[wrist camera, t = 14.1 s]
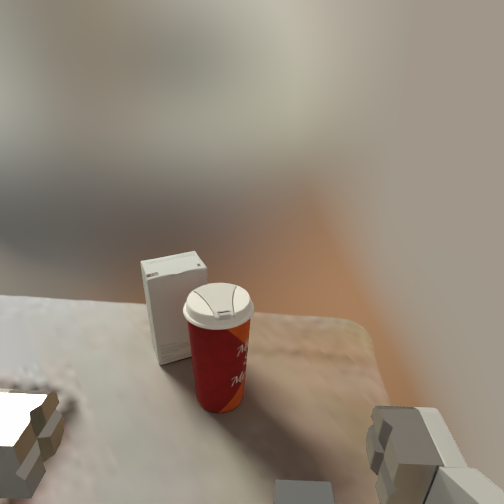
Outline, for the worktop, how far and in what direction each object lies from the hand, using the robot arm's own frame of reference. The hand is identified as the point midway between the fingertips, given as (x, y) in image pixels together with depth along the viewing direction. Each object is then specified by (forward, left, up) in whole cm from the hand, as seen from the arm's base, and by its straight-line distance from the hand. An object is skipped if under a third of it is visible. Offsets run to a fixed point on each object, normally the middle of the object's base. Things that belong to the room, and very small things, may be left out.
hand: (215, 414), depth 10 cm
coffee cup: (-3, +30, -31) cm, 43 cm away
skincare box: (-10, +39, -31) cm, 51 cm away
